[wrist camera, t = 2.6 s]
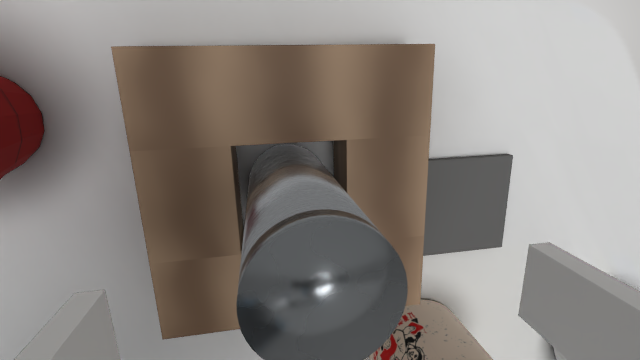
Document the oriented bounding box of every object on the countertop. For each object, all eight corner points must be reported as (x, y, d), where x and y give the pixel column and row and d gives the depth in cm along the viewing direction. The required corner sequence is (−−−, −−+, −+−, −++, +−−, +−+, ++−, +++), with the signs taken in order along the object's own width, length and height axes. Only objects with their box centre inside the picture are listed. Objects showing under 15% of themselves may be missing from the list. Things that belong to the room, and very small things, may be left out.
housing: (176, 302, 26) (162, 339, 22) (137, 54, 21) (111, 46, 18) (398, 276, 29) (420, 304, 25) (407, 51, 24) (435, 43, 21)
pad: (411, 253, 29) (414, 256, 28) (415, 160, 27) (418, 161, 26) (497, 243, 30) (501, 246, 29) (507, 154, 28) (512, 155, 27)
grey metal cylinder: (252, 220, 26) (244, 386, 11) (246, 146, 24) (227, 229, 10) (325, 213, 26) (404, 360, 12) (323, 142, 25) (411, 212, 11)
